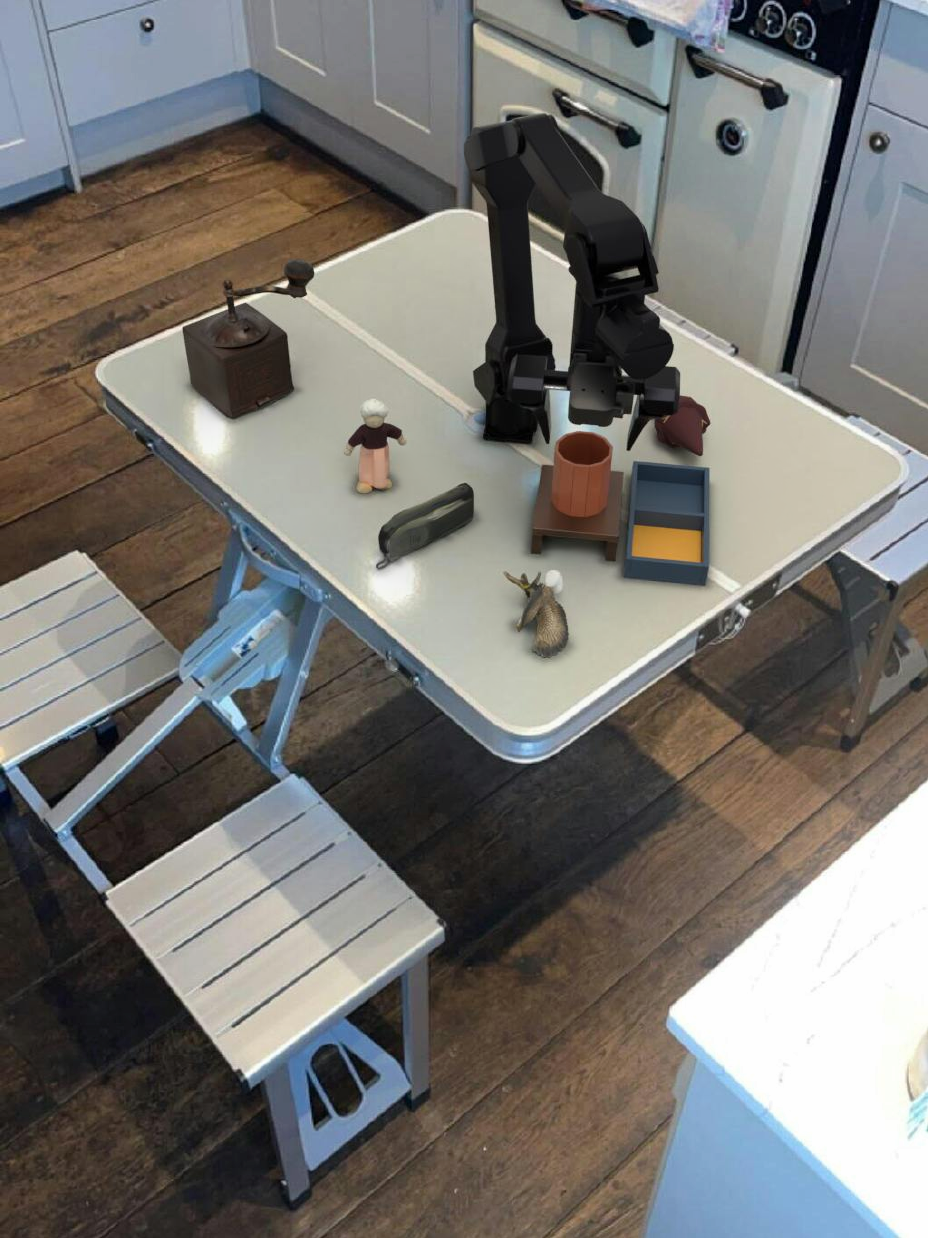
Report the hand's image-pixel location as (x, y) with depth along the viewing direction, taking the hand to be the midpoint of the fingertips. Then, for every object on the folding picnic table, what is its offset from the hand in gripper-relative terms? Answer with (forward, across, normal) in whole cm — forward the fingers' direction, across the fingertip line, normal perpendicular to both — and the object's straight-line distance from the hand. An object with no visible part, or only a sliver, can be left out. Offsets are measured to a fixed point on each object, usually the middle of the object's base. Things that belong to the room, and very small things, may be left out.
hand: (587, 445), depth 148 cm
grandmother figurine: (+12, -26, +4) cm, 28 cm away
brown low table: (+12, 0, 0) cm, 12 cm away
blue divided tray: (+12, +10, 0) cm, 16 cm away
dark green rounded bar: (+12, -18, -6) cm, 23 cm away
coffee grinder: (+12, -45, +23) cm, 52 cm away
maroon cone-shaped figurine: (+12, +12, +17) cm, 24 cm away
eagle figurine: (+12, -4, -18) cm, 22 cm away
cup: (+8, 0, 0) cm, 8 cm away
